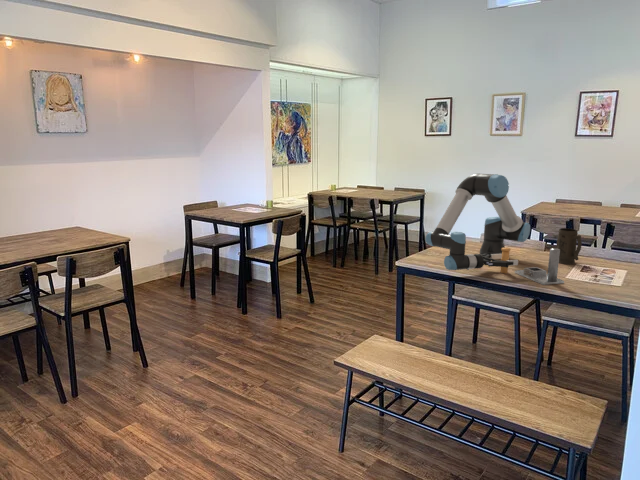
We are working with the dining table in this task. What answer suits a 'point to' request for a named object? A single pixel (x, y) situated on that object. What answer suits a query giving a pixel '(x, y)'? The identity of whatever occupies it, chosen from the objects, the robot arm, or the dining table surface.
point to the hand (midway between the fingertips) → (509, 259)
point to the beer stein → (568, 245)
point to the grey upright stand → (540, 274)
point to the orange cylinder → (505, 257)
